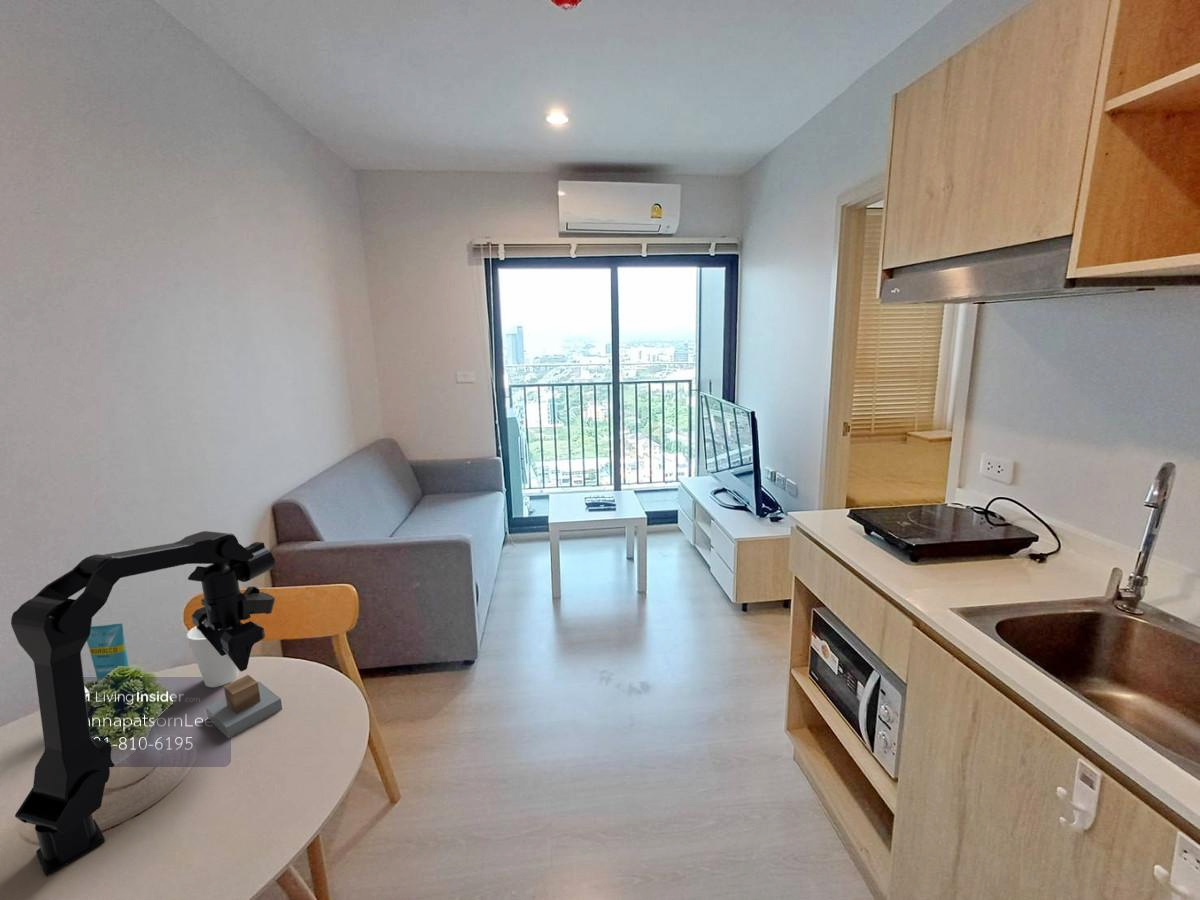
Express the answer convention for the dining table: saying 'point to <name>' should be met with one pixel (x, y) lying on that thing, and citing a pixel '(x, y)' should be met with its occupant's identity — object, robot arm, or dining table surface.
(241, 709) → the walnut cube
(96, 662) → the tube
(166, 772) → the dining table surface
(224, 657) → the foam cup
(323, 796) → the dining table surface
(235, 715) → the block
